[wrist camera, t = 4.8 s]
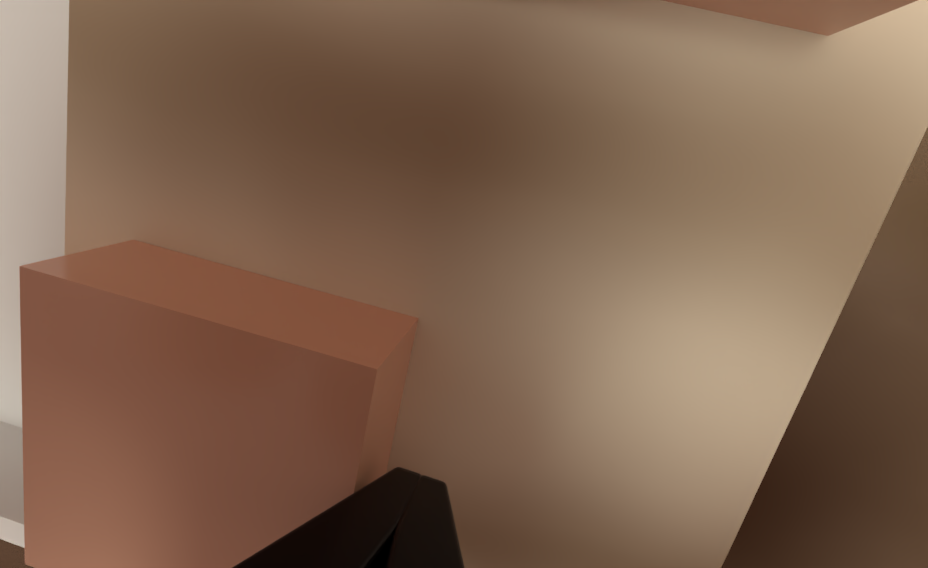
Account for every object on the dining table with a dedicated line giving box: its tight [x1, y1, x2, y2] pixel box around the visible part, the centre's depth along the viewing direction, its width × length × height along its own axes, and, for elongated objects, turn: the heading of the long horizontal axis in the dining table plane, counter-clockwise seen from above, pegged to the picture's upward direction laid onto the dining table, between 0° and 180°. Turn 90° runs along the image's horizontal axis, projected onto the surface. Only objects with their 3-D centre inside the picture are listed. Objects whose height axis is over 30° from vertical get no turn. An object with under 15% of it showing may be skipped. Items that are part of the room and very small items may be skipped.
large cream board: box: [64, 0, 928, 568], centre depth 9 cm, size 20×12×3 cm, turn 167°
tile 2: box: [19, 240, 419, 568], centre depth 9 cm, size 5×5×2 cm
